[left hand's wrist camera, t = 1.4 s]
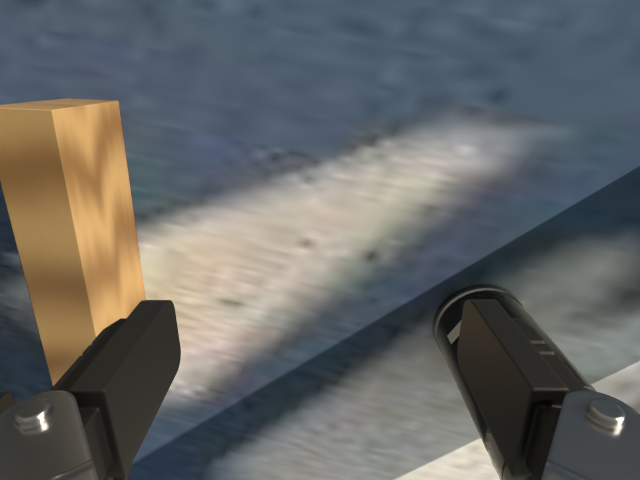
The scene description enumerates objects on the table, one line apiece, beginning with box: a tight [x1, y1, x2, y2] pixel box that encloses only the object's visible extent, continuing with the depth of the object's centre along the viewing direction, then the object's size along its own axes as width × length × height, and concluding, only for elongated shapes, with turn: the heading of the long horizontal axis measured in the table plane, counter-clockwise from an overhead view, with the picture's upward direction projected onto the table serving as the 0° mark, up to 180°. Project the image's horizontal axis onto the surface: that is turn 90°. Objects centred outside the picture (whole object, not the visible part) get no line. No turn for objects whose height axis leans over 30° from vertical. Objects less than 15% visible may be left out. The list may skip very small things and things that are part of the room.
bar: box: [0, 99, 145, 386], centre depth 35 cm, size 25×4×10 cm, turn 178°
